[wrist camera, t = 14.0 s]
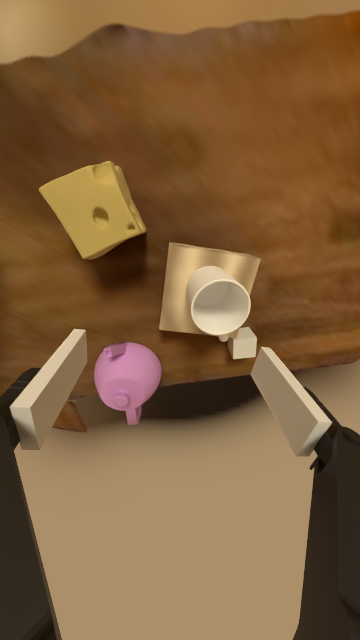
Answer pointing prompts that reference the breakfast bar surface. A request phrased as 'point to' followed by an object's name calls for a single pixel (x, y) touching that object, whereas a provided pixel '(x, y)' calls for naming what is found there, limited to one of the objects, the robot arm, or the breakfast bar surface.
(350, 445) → the robot arm
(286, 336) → the breakfast bar surface
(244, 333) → the beige block
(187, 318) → the oak block
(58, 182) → the cheese
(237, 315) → the mug
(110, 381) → the teapot
